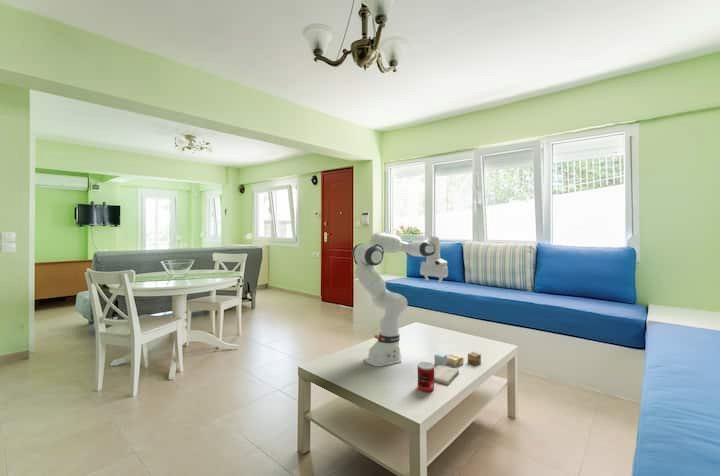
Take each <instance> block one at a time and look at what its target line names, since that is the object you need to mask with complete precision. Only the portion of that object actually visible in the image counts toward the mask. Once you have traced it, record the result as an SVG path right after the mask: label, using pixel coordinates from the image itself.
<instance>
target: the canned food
mask: <svg viewBox="0 0 720 476" xmlns="http://www.w3.org/2000/svg"><path fill="white" fill-rule="evenodd" d="M434 367H435V364H433V363H431V362H428V361H421V362H419V363H418V364H417V388H418V389H419V391H421V392H424V393H430V392H433V391H434V389H435V381H434Z"/></svg>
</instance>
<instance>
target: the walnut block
mask: <svg viewBox="0 0 720 476" xmlns="http://www.w3.org/2000/svg"><path fill="white" fill-rule="evenodd" d="M481 356H482V354H480V353H477V352H475V351H472V352H469V353H467V363H468V362H469V363H468V364H471V363H472V364H471V365H473V364H474V366H477V365H476V364H478V365H480V364H481V363H482V357H481ZM479 363H480V364H479Z"/></svg>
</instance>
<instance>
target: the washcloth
mask: <svg viewBox="0 0 720 476" xmlns="http://www.w3.org/2000/svg"><path fill="white" fill-rule="evenodd" d="M459 374H460V370H459V369H458V368H456V367H455V368H454V367H448V366H447V365H446V366H442V365H438V366H434V383H438V384H441V385H445V386H449V385H450V384H451V383H452V382H453V380H455V378H456V377H457V376H458V375H459Z"/></svg>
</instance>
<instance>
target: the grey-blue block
mask: <svg viewBox="0 0 720 476" xmlns="http://www.w3.org/2000/svg"><path fill="white" fill-rule="evenodd" d="M447 356H448V355H447V353H444V352H443V353H442V352H439V351H438V352H436V353H434V367H436V366H438V365H442V366H447V365H448V364H447Z"/></svg>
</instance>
